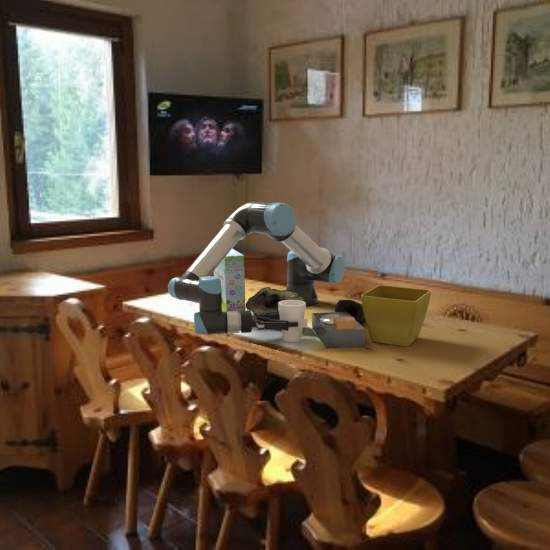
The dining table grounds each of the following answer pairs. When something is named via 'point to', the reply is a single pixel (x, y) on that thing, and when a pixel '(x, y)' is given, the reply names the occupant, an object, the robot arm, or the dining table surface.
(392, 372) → the dining table surface
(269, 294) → the moss-covered rock
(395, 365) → the dining table surface
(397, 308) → the flower pot
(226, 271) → the snack box
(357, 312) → the pipe
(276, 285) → the dining table surface
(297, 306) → the foam cup
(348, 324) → the block
